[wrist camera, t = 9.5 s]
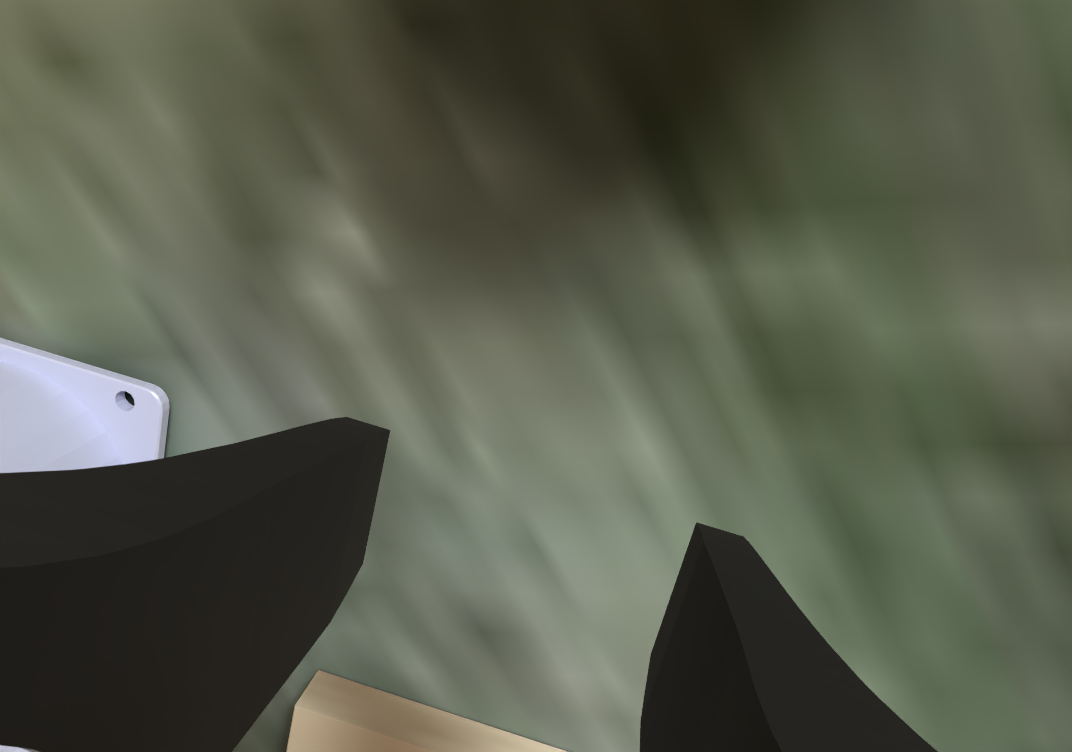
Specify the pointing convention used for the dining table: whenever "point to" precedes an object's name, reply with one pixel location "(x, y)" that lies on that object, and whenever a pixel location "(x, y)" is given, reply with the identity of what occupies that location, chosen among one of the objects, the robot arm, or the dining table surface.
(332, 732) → the peg board
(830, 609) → the dining table surface
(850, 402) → the dining table surface
